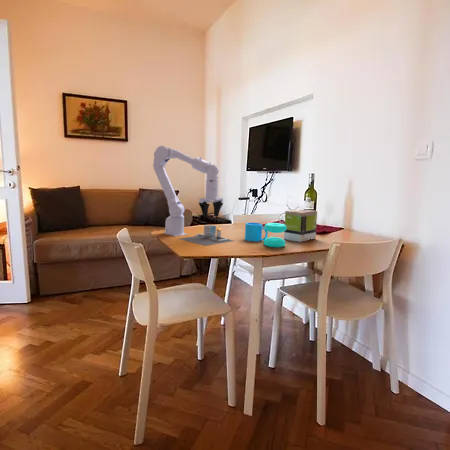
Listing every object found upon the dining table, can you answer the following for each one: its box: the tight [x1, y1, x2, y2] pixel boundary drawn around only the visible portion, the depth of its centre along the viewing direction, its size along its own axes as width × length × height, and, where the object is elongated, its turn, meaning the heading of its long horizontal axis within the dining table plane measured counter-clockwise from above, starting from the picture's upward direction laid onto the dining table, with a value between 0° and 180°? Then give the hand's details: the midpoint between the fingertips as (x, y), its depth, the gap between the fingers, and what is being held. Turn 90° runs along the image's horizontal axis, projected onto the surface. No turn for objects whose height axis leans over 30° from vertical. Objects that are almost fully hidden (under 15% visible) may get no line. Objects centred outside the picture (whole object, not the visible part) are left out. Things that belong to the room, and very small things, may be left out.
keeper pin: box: [216, 228, 222, 240], centre depth 161 cm, size 2×2×5 cm
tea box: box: [283, 208, 318, 243], centre depth 174 cm, size 15×10×15 cm
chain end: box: [195, 224, 230, 242], centre depth 165 cm, size 18×7×6 cm, turn 46°
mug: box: [244, 222, 269, 242], centre depth 165 cm, size 12×8×8 cm
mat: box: [178, 235, 235, 247], centre depth 161 cm, size 19×19×1 cm
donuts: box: [263, 222, 287, 248], centre depth 155 cm, size 10×10×10 cm
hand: (210, 216), depth 170 cm, fingers open, 7 cm apart
